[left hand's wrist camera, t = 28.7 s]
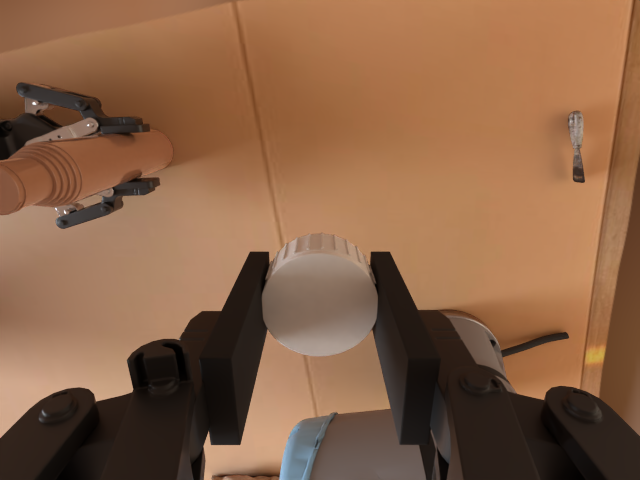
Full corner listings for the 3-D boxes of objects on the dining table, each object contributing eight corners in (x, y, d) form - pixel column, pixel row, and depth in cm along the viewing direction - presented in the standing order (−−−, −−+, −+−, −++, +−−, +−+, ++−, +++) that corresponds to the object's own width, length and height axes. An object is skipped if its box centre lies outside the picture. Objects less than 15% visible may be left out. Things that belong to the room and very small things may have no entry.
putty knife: (575, 109, 39) (586, 109, 38) (579, 179, 42) (589, 182, 40) (565, 112, 39) (576, 112, 38) (570, 181, 42) (580, 184, 40)
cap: (360, 332, 16) (367, 364, 14) (261, 319, 15) (253, 350, 13) (382, 240, 14) (393, 262, 12) (273, 224, 14) (265, 243, 12)
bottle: (125, 152, 41) (-62, 194, 21) (146, 120, 40) (-32, 131, 20) (160, 177, 42) (13, 241, 22) (180, 147, 41) (45, 184, 21)
